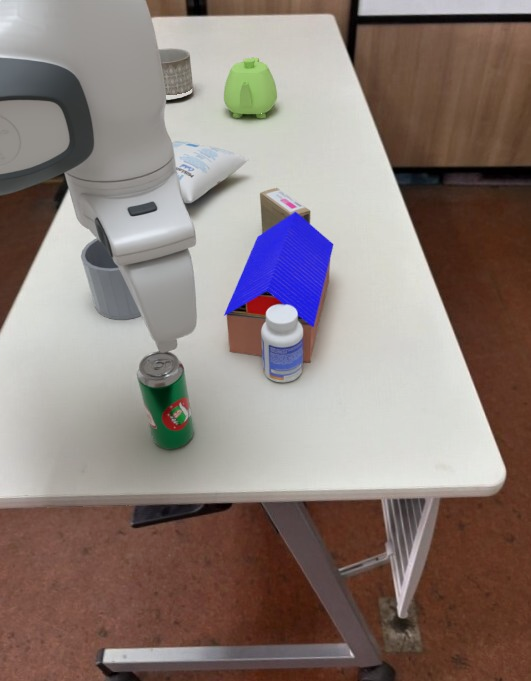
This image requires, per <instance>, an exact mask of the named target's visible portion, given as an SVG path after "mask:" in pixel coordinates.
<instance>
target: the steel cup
mask: <svg viewBox="0 0 531 681" xmlns="http://www.w3.org/2000/svg"><path fill="white" fill-rule="evenodd" d="M80 259H81V262H82V266H83V269H84V273H85V276H86V281H87V284H88V287H89V291H90V294H91V297H92V301H93V304H94V306H95V310H96V311H97V312H98V313H99V314H100V315H101V316H103V317H105V318H108V319H111V320H118V321H119V320H122V321H125V320H132V319H136V318H140V317H142V315H141V313H140V311H139V309H138V307H137V305H136V303H135V301H134V299H133V297H132V295H131V293H130V290H129V288H128V286H127V284H126V282H125V280H124V278H123V276H122V274H121V272H120V270H119V268H118V266H117V265H116V264H115V263H114V261H113V259H112V257H110V255H109V253H108V252H107V250H106V248H105V247H104V246H103V244H102V243H101V242H100V241H99V240H98V239H97V238H96V237H95V238H94V239H93V240H91V241H90V242H88V243H87V244H86V245H85V246H84V247H83V248H82V251H81V254H80Z"/></svg>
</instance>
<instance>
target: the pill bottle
mask: <svg viewBox="0 0 531 681" xmlns="http://www.w3.org/2000/svg"><path fill="white" fill-rule="evenodd" d="M265 317H266V322H265V323H264V324H263V326H262V329H261V339H262V356H261V357H262V358H261V359H262V370H263V373H264V374H265V377H266V378H267V379H269V380H271V381H273V382H277V383H288V382H289V383H290V382H293V381H295V380H296V379H298V378H299V377H300V376H301V374H302V372H303V366H304V362H303V327H302V325H301V323H300V322H299V320H298V319H299V316H298V313H297V310H296V309H295V308H294V307H293V306H290V305H287V304H286V305H284V304H277V305H273V306H271V307H270V308H269V309H268V310H267V311H266V316H265Z"/></svg>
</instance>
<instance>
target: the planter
mask: <svg viewBox="0 0 531 681" xmlns="http://www.w3.org/2000/svg"><path fill="white" fill-rule="evenodd" d="M158 49H159V54H160V60H161V65H162V71H163V77H164V84H165V91H166V95H177V94H182V93H186V92H188V91H190V90H191V89H192V88H193V89H194V83H193V73H192V63H191V54H190V52H189V51H187V50H185V49H181V48H158Z"/></svg>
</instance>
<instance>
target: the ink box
mask: <svg viewBox="0 0 531 681" xmlns="http://www.w3.org/2000/svg"><path fill="white" fill-rule="evenodd" d="M259 200H260V218H261V220H260V221H261V234H263V233H264V232H266V231H267V230H269V229H270V228H272V227H273V226H275V225H276V224H278V223H279V222H281V221H282V220H284V219H285V218H287V217H288V216H290V215H291V214H293V213H294V212H297V213H298V214H299V215H300V216H301V217H302V218H304V219H305V220H306V221H307V222H308V223H309V224H311V209H309V208H307V207H306V206H304V205H303V204H302V203H300V202H298V201H297V200H296V199H294V198H293V197H291V196H290V195H289V194H287V193H285V192H284V191H283V190H282V189H279V188H278V187H273V188H270V189H267V190H264V191H261V192H260V193H259Z"/></svg>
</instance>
